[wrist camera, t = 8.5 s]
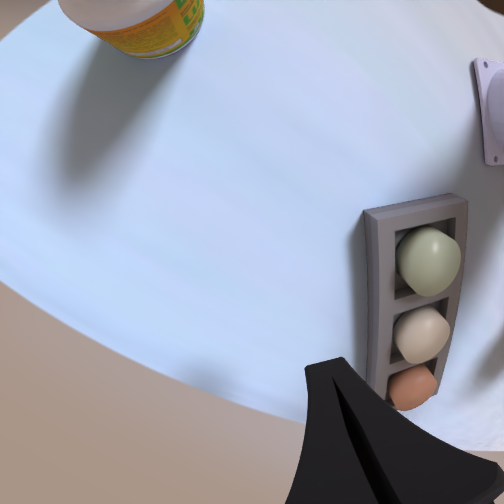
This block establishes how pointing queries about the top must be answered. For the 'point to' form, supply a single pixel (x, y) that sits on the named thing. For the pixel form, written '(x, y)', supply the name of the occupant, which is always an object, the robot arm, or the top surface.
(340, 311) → the top surface
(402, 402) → the terracotta button
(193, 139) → the top surface
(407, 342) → the ivory button
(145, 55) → the supplement bottle
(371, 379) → the panel
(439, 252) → the sage button
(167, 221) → the top surface
